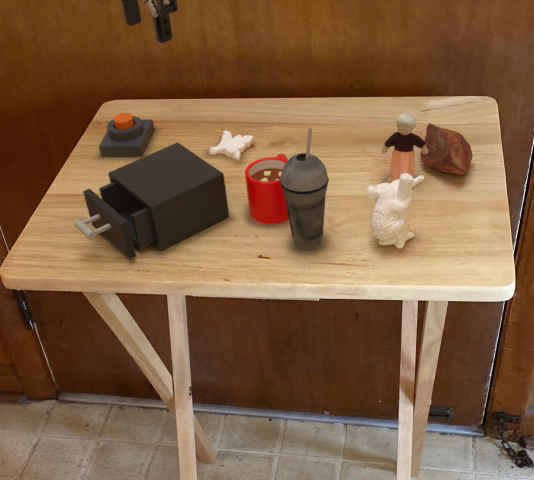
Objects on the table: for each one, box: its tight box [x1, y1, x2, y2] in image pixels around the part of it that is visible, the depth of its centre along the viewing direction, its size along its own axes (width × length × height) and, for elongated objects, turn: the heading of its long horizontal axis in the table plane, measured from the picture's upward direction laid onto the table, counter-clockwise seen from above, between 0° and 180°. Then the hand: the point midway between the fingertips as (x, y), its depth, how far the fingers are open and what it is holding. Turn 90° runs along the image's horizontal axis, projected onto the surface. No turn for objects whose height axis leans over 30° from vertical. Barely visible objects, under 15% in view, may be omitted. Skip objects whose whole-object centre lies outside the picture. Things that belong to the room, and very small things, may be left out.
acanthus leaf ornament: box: [208, 130, 254, 162], centre depth 151 cm, size 8×7×2 cm
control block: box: [98, 115, 155, 157], centre depth 155 cm, size 10×8×4 cm
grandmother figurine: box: [380, 112, 428, 183], centre depth 135 cm, size 8×4×13 cm, turn 89°
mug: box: [244, 153, 289, 225], centre depth 135 cm, size 8×12×8 cm, turn 164°
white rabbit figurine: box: [365, 173, 425, 250], centre depth 124 cm, size 8×7×12 cm
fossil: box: [419, 122, 473, 176], centre depth 140 cm, size 13×8×10 cm
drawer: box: [74, 181, 156, 260], centre depth 131 cm, size 17×12×7 cm
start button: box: [113, 112, 134, 130], centre depth 154 cm, size 4×4×2 cm
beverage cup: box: [280, 127, 330, 252], centre depth 122 cm, size 7×7×20 cm
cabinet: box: [107, 142, 230, 252], centre depth 134 cm, size 14×14×9 cm
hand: (149, 32), depth 116 cm, fingers open, 8 cm apart
